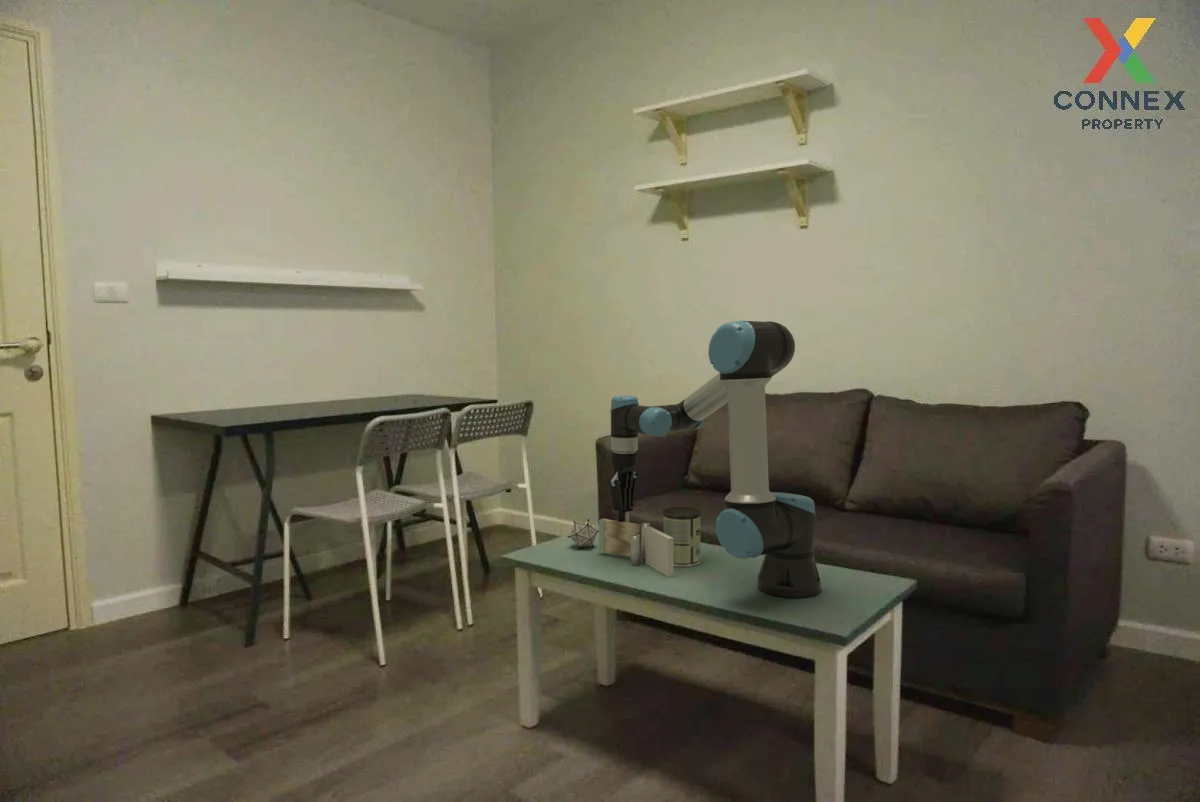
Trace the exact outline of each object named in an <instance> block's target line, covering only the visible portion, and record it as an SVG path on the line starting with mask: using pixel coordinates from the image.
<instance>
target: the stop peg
mask: <svg viewBox="0 0 1200 802" xmlns="http://www.w3.org/2000/svg"><path fill="white" fill-rule="evenodd" d="M640 562H641V557H640V535H637V534H633V535H631V556H630V566H631V567H639V566H640V565H641V564H640Z"/></svg>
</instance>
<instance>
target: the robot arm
mask: <svg viewBox="0 0 1200 802" xmlns="http://www.w3.org/2000/svg"><path fill="white" fill-rule="evenodd" d="M794 338H795V337H794V336H793V334H792V333H791V331H790V330H789V329H788V328H787V327H786V326H785V325H783V324H781V323H779V322H777V321H771V320H770V321H768V320H767V321H759V320H758V321H755V320H754V321H753V320H737V321H728V322H726V323H725V322H724V324H723V323H722V324H721V325H720V326H719V327H718V328H717V329H716V331H715V332H714V333H713V334H712V335H711V338H710V341H709V343H708V351H707V352H708V359H709V362H710V364H711V365H713V366H712V367H713V369H714V370H716V371H717V372H718V373H717V374H716V375H714V376H713V377H711V378H710V379H709V380H708V381H707V382H705V383H704V384H703V385H702V386H700V387H699V388H697V389H696V390H695V391H693V392H692V393H691V394H689V395H688V396H687V397H685V398H684V399H682V400H681V401H680V402H679V403H676V404H665V405H664V404H663V405H653V406H652V405H649V406H648V405H640V403H639V398H638V397H637V396H635V395H615V396H613V397H612V398H611V401H610V402H611V403H610V409H609V411H610V450H611V452H610V465H611V466H613V468H614V471H613V477H612V478H609V479H608V484H609V487H610V493H611V499H612V506H613V507H612V508H613V511H615V512H618V521H622V522H629V523H630V512H633V511H634V507H635V501H636V493H637V485H638V479H639V477H640V473H639V472H636V471H635V467H636V466H638V463H639V461H638V459H639V455H638V454H639V453H638V452H637V451H638V450H639V438H638V437H639V434H642V435H647V436H650V437H663V436H666V434H667V433H669V434H670V433H677V432H691V431H693V430H699V429H700V428H702V427H703V426H704V423H705V421H706V418H708V417H710V416H711V415H712V414H714V413H715V412H716V411H718V410H719V409H721V408H723V406H725V405H726V404H727V413H728V414H727V419H728V422H727V423H728V444H729V446H728V447H729V470H730V471H729V472H730V492H729V493H728V494H727V495H725V498H724V507H725V509H723V510H722V511H721V512H720V513H719V515H718V516H717V518H716V519H715V534H716V536H717V539H718V541H719V543H720V546H721V547H723V548H724V550H725V551H726V552H727V553H728V554H729V555H730V556H732V557H734V558H736V559H742V560H743V559H744V560H745V559H755V558H758V557H760V556H763V555H764V557H763V560H762V561H761V566H760V568H759V572H758V575H757V577H756V587H757V589H758V590H760V591H762V592H764V593H766V594H769V595H771V596H772V595H773V596H777V597H782V598H794V599H796V598H809V597H813V596H816V595H818V594H819V593H821V591H822V580H821V577H820V574H819V571H818V567H817V564H816V561H815V531H816V530H815V528H816V527H815V523H816V522H815V521H816V509H815V506H816V505H815V501H814V500H813V499H812V498H811V497H810V496H805V495H802V494H796V493H795V494H794V493H787V492H775V491H773V492H772V491H770V486H769V485H770V484H769V483H770V481H769V458H768V457H769V456H768V432H767V408H766V407H767V406H766V405H767V404H766V403H767V402H766V386H767V385H768V383H769V382H770V381H771V380H772V377H774V376H775V375H777V374H778V373H779V372H781V371H782V370H784V369H785V368H786V367H788V365H789V364H790V362H792V360H793V358H794V354H795V351H796V342H795V339H794Z"/></svg>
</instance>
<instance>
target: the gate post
mask: <svg viewBox="0 0 1200 802" xmlns="http://www.w3.org/2000/svg"><path fill="white" fill-rule="evenodd" d="M640 524H641V557H640V562H641V563H644V564H646V563H645V527H651V524H650V522H641V523H640Z"/></svg>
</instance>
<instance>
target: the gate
mask: <svg viewBox="0 0 1200 802" xmlns="http://www.w3.org/2000/svg"><path fill="white" fill-rule="evenodd" d="M598 530H599V532H598V552H602V553H608V554H613V555H614V554H615V555H620V556H626V557H631V535H633V534H637V535H640V558H641V523H637V522H630V521H629V522H622V521H619V520H614V519H608V518H601V519H598Z"/></svg>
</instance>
